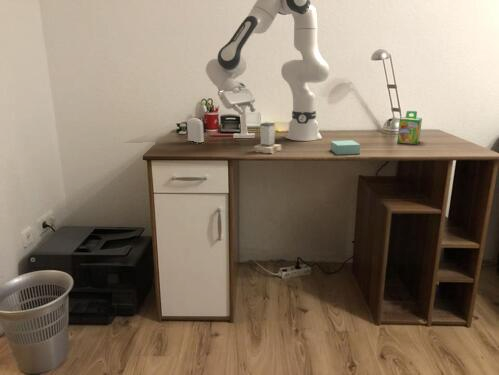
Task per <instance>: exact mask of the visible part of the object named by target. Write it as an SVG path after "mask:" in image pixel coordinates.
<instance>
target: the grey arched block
mask: <svg viewBox="0 0 499 375" xmlns="http://www.w3.org/2000/svg"><path fill="white" fill-rule="evenodd" d="M186 128H187V141H188V140H190V141H194V142H205V139H204V138H205V137H204V136H205V135H204V122H203V121H202V120H201V119H200V118H197V117H190V118H189V119H187V122H186Z"/></svg>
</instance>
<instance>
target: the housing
mask: <svg viewBox="0 0 499 375" xmlns="http://www.w3.org/2000/svg"><path fill="white" fill-rule="evenodd" d="M260 144H261V146H266V147H270V146H273V145H274V144H275V122H261V123H260Z"/></svg>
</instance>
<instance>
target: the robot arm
mask: <svg viewBox="0 0 499 375" xmlns="http://www.w3.org/2000/svg"><path fill="white" fill-rule="evenodd" d="M278 14H279V15H282V16H286V15H292V16H291V17H292V18H293V22H294V24H293V47H294V48H295V50H296V51H297V52H300V54H301V56H302V59H292V60H289V61H285V62H284V63H283V64H282V65H281V70H280V71H281V76H282V78H283V80H285V82H286V84H288V86H289V88H290V91H291V95H292V107H293V108H292V112H291V118H292V119H291V120H289V121H288V134H287V135H285V136H284V137H285V138H284V139H289V140H292V141H302V142H305V141H306V142H307V141H308V142H309V141H316V140H322V139H323V137H322V135H321V134H320V129H319V122H318V121H317V120H316V118H317V112H316V95H315V93H314V92H313V91H311V90H310V88H309V86H308V84H309V83H310V84H316V83H322V82H325V81H326V80H327V79H328V78H329V75H330V66H329V64H328V63H327V61H325V60H324V58H323V57H322V55H321V53H320V51H319V45H318V17H317V9H316V8H315V6H314V5H312V4H311V0H256V1H255V3H254V5H253V6H252V9H251V10H250V11H249V13H248V15H247V16H246V17H245V18H244V20H243V21H242V22H241V23H240V25H239V27H238V28H237V29H236V31H235V32H234V33H233V36H232V37H231V38H230V40H229V41H228V42H227V43H226V44H225V45H223V46H222V47H221V48H220V49H219V51H218V53H217V58H212V59H211V60H209V61H208V63H207V64H206V67H205V73H206V75H207V76H208V78H209V80H210V81H211V83H212V84H213V85H214V86H216V88H217V90H218V92H217V96H218V97H219V101H221V103H222V105H223V106H224V108H226V110H230V109H233V111H235V112H237V113H238V115H240V116H241V114H243V113H244V111H243V110H242V109H241V107H242V106H247V107H249V111H250V112H251V113H254V112H255V111H256V108H255V107H254V103H255V102H256V98H255V95H253V93H252V92H251V91H250V90H249V89H248V88H247V85H246V83H244V82H240V81H237V80H236V78H238V77H240V76H241V75H243V74H244V72H245V71H246V68H247V62H246V60H245V59H244V57H243V56H242V50H243V49H244V47H245V45H246V44H247V42H248V40H250V38H251V37H252V36H253V35H254V34H258V35H259V34H264V33H266V32H267V31H268V30H269V29H270V27H271V26H272V24H273V22H274V20H275V18H276V17H277V15H278Z"/></svg>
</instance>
